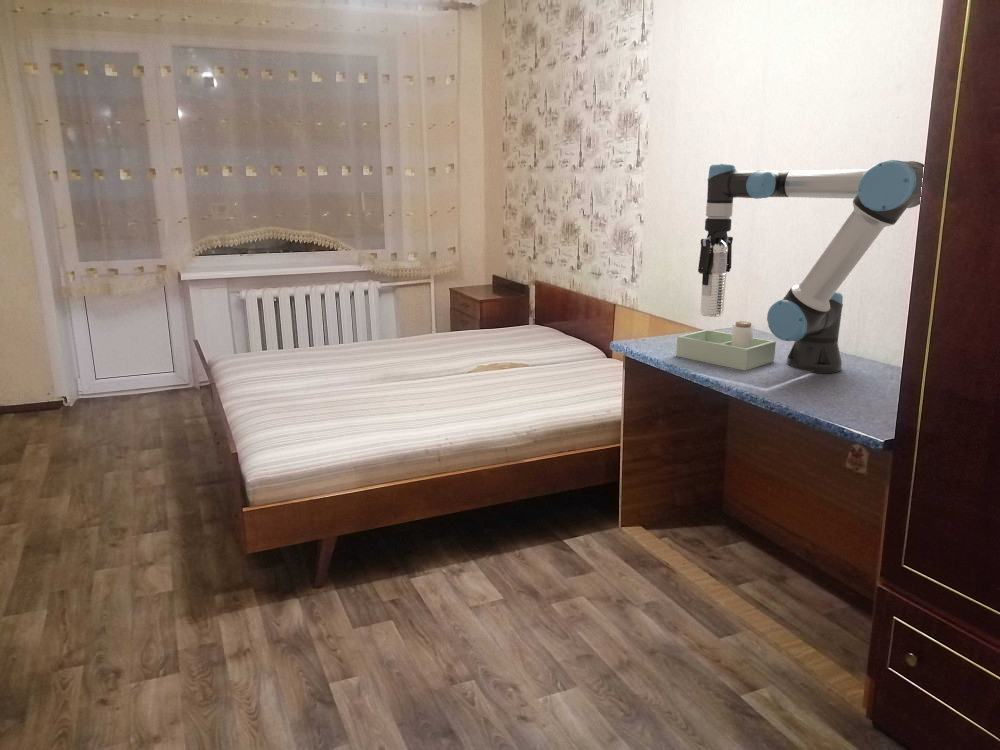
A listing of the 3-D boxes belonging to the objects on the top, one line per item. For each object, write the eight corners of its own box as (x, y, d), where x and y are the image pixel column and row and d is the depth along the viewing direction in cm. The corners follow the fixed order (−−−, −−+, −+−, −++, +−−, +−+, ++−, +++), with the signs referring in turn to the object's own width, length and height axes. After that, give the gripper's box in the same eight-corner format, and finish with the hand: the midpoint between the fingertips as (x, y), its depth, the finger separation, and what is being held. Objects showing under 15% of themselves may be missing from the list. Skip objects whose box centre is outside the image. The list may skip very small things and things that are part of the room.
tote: (773, 363, 228) (775, 341, 226) (745, 373, 217) (747, 349, 216) (705, 350, 245) (706, 329, 243) (676, 358, 235) (677, 336, 233)
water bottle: (725, 317, 228) (732, 233, 222) (703, 317, 229) (708, 233, 222) (719, 313, 235) (725, 232, 228) (697, 313, 235) (703, 232, 229)
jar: (754, 362, 227) (758, 322, 224) (743, 365, 223) (747, 325, 220) (736, 358, 231) (740, 320, 228) (726, 361, 227) (729, 322, 224)
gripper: (725, 215, 233) (720, 289, 239) (688, 218, 220) (683, 296, 226) (747, 216, 228) (741, 292, 234) (710, 219, 215) (705, 299, 221)
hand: (713, 294), depth 230 cm, fingers closed on water bottle, 7 cm apart
